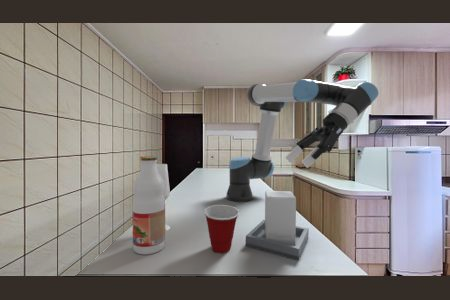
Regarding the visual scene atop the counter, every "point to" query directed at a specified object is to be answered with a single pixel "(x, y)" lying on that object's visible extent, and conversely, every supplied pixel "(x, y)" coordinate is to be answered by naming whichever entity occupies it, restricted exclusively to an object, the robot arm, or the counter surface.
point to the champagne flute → (164, 175)
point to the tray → (259, 242)
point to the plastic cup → (221, 226)
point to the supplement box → (280, 216)
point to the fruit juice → (148, 209)
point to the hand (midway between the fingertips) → (295, 162)
